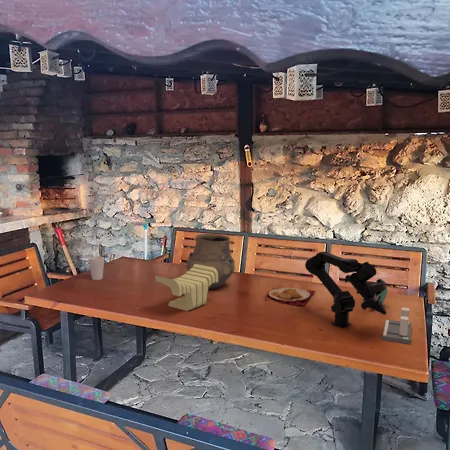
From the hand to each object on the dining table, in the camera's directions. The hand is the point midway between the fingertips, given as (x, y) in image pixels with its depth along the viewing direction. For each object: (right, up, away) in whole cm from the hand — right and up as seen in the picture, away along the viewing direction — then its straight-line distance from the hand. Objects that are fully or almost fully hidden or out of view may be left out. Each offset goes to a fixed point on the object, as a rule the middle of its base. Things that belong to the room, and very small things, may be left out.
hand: (385, 314), depth 196 cm
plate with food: (-34, -2, +55) cm, 65 cm away
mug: (+8, -4, +37) cm, 38 cm away
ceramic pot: (-77, +2, +74) cm, 107 cm away
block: (+7, -8, -2) cm, 11 cm away
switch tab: (+12, -6, +9) cm, 16 cm away
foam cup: (-148, +5, +89) cm, 173 cm away
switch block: (+7, -9, +5) cm, 13 cm away
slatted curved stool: (-88, -4, +40) cm, 97 cm away
